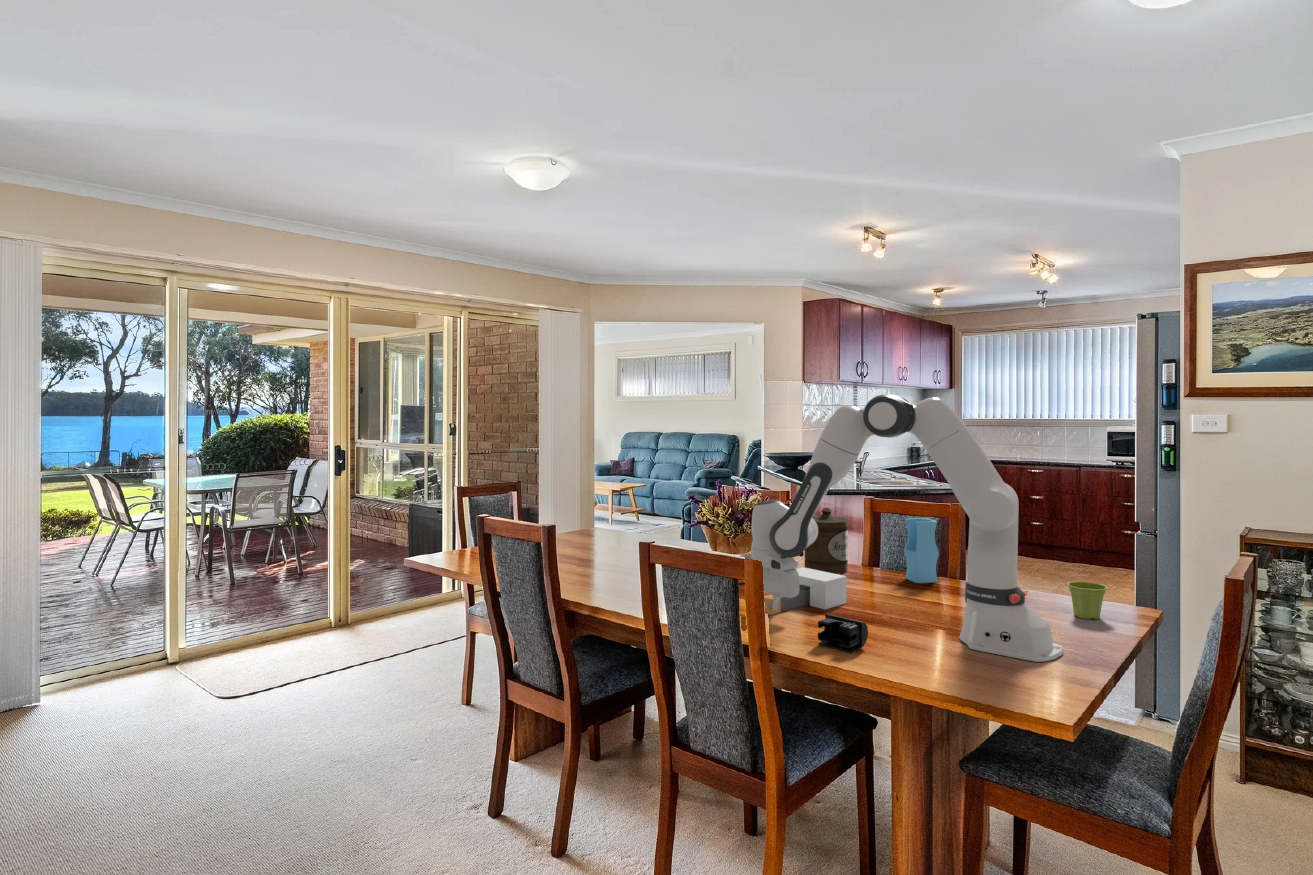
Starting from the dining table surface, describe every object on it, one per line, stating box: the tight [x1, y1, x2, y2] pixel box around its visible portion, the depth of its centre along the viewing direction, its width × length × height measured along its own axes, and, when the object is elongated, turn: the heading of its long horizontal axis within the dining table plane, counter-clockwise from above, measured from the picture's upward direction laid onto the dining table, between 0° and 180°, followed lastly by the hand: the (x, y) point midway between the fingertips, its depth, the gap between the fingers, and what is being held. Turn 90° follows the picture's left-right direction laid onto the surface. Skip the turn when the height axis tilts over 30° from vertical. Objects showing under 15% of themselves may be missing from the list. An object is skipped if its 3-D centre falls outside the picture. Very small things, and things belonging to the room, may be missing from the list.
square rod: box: [763, 587, 810, 616], centre depth 212 cm, size 4×26×4 cm, turn 130°
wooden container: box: [804, 507, 849, 575], centre depth 258 cm, size 15×15×22 cm
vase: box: [903, 517, 940, 584], centre depth 243 cm, size 8×8×20 cm
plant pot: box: [1067, 581, 1108, 620], centre depth 200 cm, size 9×9×9 cm
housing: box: [795, 566, 848, 610], centre depth 217 cm, size 16×10×8 cm, turn 40°
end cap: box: [817, 613, 869, 654], centre depth 176 cm, size 10×7×7 cm
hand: (766, 607), depth 204 cm, fingers closed on square rod, 4 cm apart
